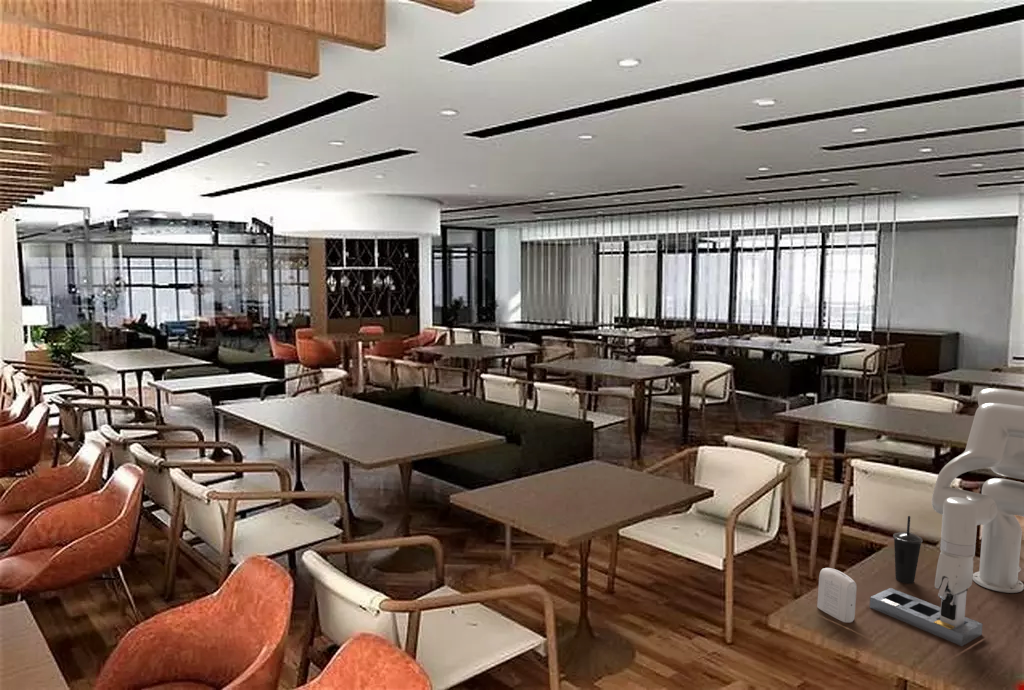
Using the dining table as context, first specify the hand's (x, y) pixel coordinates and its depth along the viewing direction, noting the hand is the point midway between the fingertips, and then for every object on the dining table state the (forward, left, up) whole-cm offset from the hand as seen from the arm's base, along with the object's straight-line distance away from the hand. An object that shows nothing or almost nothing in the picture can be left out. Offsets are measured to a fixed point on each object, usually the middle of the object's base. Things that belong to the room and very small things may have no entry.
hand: (952, 614), depth 187 cm
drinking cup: (-20, -23, -5) cm, 31 cm away
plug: (0, 0, -3) cm, 3 cm away
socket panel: (0, -7, -5) cm, 9 cm away
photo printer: (+16, -22, -5) cm, 28 cm away
